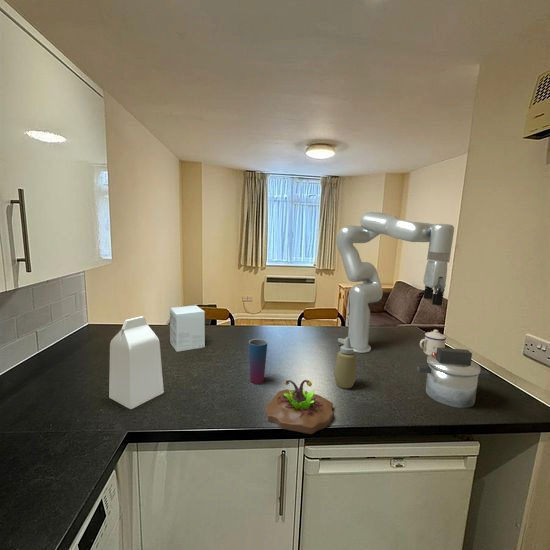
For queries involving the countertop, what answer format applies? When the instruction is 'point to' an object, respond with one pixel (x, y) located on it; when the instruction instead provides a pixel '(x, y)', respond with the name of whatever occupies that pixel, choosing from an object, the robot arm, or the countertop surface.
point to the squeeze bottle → (345, 366)
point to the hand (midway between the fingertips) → (432, 301)
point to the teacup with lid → (433, 342)
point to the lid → (454, 362)
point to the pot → (451, 387)
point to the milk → (135, 364)
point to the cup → (257, 360)
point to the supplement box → (187, 328)
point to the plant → (299, 410)
